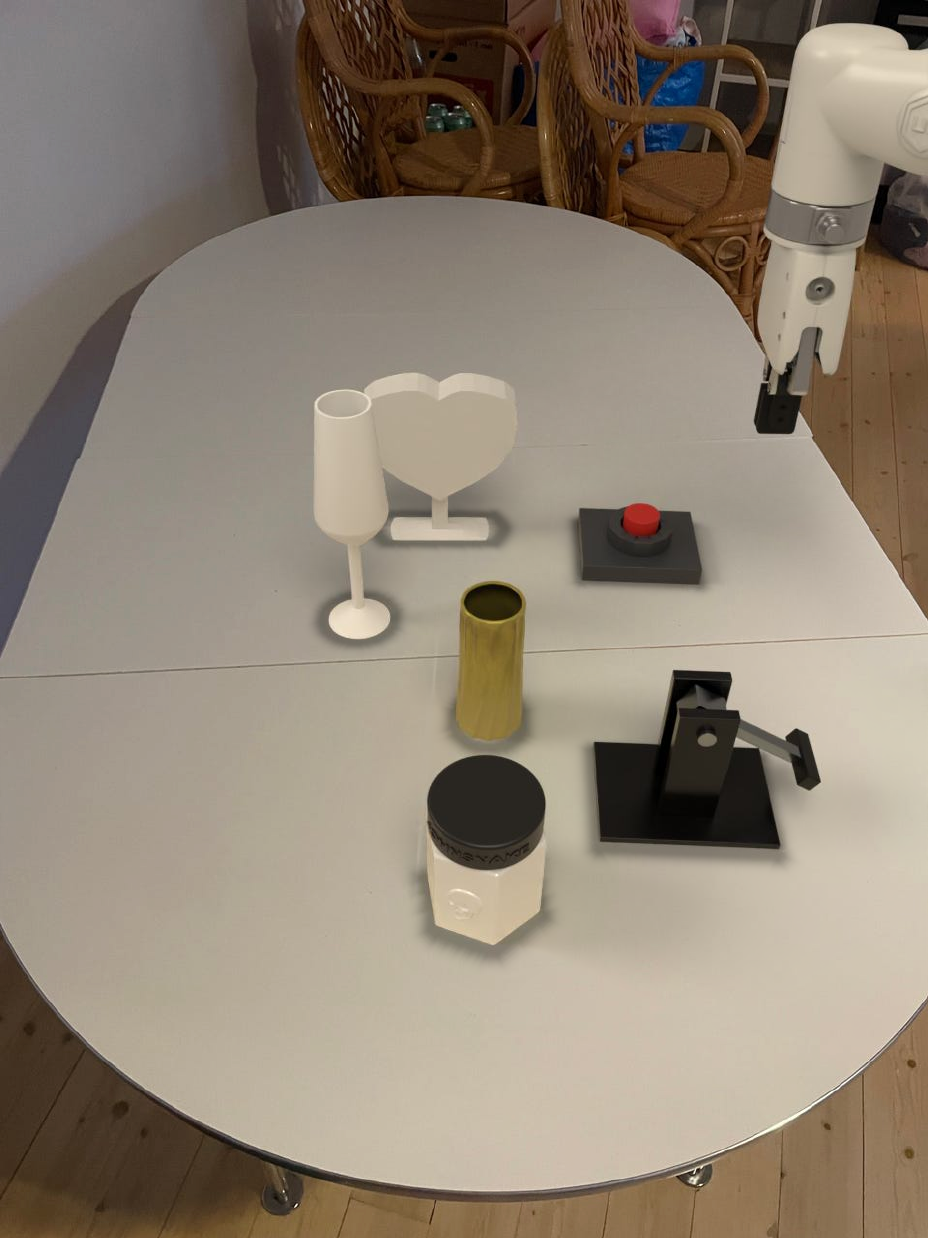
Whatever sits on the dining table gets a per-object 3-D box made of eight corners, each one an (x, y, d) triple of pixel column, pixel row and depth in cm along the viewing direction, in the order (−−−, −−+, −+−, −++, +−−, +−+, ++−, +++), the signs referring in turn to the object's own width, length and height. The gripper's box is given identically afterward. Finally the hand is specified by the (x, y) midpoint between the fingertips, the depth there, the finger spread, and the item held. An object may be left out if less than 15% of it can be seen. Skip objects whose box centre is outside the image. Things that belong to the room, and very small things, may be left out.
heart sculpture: (510, 516, 115) (517, 369, 103) (512, 544, 111) (520, 395, 99) (369, 516, 115) (360, 368, 103) (367, 544, 111) (357, 394, 99)
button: (656, 516, 109) (658, 503, 108) (659, 537, 107) (661, 524, 106) (621, 515, 109) (623, 502, 108) (624, 536, 107) (626, 522, 106)
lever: (792, 746, 84) (813, 729, 83) (804, 795, 81) (826, 778, 79) (673, 689, 81) (693, 670, 79) (681, 737, 77) (702, 719, 76)
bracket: (755, 759, 89) (788, 651, 81) (776, 856, 82) (815, 748, 73) (592, 752, 90) (607, 644, 81) (598, 849, 82) (615, 741, 74)
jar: (406, 925, 77) (401, 825, 69) (447, 840, 83) (447, 739, 75) (521, 965, 75) (530, 866, 67) (555, 875, 80) (566, 774, 72)
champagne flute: (388, 593, 105) (377, 380, 89) (399, 638, 100) (389, 420, 84) (321, 602, 104) (298, 387, 88) (329, 647, 99) (306, 429, 83)
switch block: (687, 527, 114) (693, 497, 111) (698, 586, 107) (705, 555, 104) (577, 523, 114) (580, 493, 112) (581, 582, 107) (584, 551, 104)
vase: (439, 721, 92) (439, 598, 83) (490, 688, 95) (494, 566, 86) (487, 760, 89) (491, 638, 79) (537, 725, 92) (548, 603, 83)
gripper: (895, 253, 72) (836, 477, 84) (845, 181, 84) (800, 387, 96) (785, 253, 73) (742, 476, 85) (751, 180, 84) (717, 386, 96)
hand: (773, 428), depth 90 cm, fingers closed
